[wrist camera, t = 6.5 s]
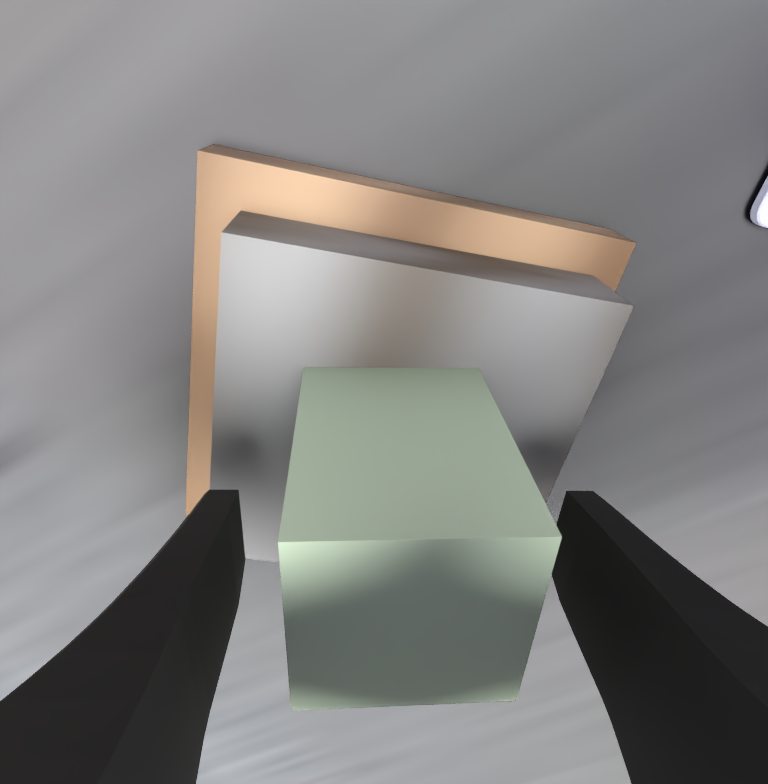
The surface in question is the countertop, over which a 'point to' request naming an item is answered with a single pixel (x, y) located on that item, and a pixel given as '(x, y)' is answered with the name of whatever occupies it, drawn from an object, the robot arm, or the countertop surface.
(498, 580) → the green block
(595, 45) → the countertop surface
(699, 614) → the robot arm
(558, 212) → the countertop surface
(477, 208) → the tower base
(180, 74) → the countertop surface
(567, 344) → the tower top
